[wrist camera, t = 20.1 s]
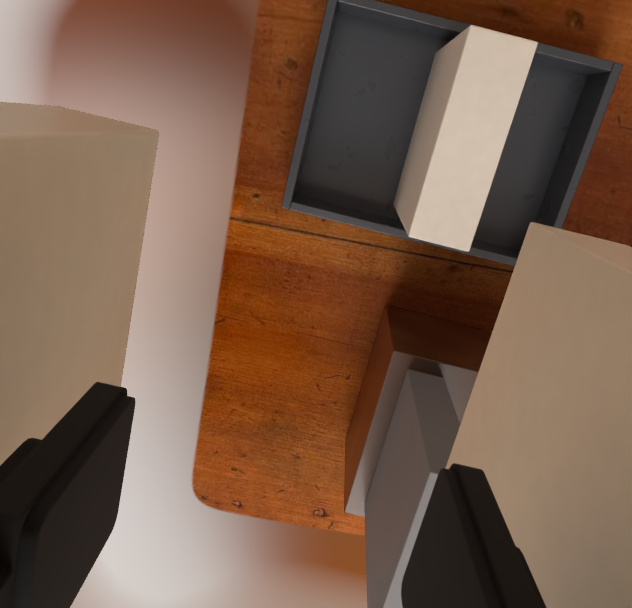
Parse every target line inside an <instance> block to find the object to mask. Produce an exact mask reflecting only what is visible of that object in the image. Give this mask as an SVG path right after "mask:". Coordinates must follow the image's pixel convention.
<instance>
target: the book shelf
mask: <svg viewBox="0 0 632 608" xmlns="http://www.w3.org/2000/svg"><path fill="white" fill-rule="evenodd" d="M491 334H492V331H488V330H484V329H480V328H476V327H472V326H468V325H464V324H460V323H456V322H452V321H448V320H444V319H440V318H436V317H432V316H428V315H424V314H420V313H416V312H412V311H408V310H404V309H400V308H396V307H392V306H388V305H385V308H384V311H383V315H382V318H381V321H380V325H379V328H378V332H377V335H376V338H375V342H374V345H373V349H372V352H371V355H370V359H369V362H368V366H367V369H366V372H365V376H364V379H363V383H362V386H361V390H360V393H359V396H358V400H357V403H356V407H355V410H354V413H353V417H352V420H351V424H350V427H349V430H348V434H347V437H346V441H345V487H344V512H345V513H349V514H353V515H357V516H361V517H365V509H364V505H365V502H366V499H367V496H368V492H369V489H370V486H371V483H372V480H373V477H374V473H375V470H376V467H377V464H378V461H379V458H380V454H381V451H382V448H383V445H384V442H385V439H386V436H387V432H388V429H389V426H390V423H391V420H392V417H393V413H394V410H395V407H396V404H397V401H398V398H399V395H400V391H401V388H402V385H403V382H404V379H405V376H406V372H407V370H408V369H410V370H414V371H418V372H422V373H426V374H430V375H434V376H438V377H442V378H444V380H445V383H446V386H447V388H448V391H449V394H450V397H451V400H452V403H453V405H454V408H455V411H456V414H457V417H458V420H459V422H460V425H461V422H462V419H463V416H464V413H465V410H466V407H467V404H468V401H469V398H470V395H471V393H472V390H473V387H474V384H475V381H476V378H477V375H478V372H479V369H480V366H481V364H482V361H483V358H484V355H485V352H486V349H487V346H488V343H489V340H490V337H491Z"/></svg>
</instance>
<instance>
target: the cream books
mask: <svg viewBox="0 0 632 608" xmlns="http://www.w3.org/2000/svg"><path fill="white" fill-rule="evenodd" d="M158 137H159V132H158V131H157V130H154V129H150V128H146V127H142V126H138V125H134V124H129V123H126V122H122V121H117V120H113V119H109V118H105V117H101V116H97V115H93V114H89V113H85V112H80V111H77V110H72V109H68V108H64V107H60V106H49V105H35V104H21V103H6V102H0V465H1V464H2V463H3V462H4V461H5V460H6V459H7V458H8V457H9V456H10V455H11V454H12V453H13V452H14V451H15V450H16V449H17V448H18V447H19V446H20V445H21V444H22V443H23V442H24V441H26V440H27V439H28V438H36V439H41V440H42V439H43V438H44V437H45V436H46V435H47V434H48V433H49V432H50V430H51V429H52V428H53V427H54V426H55V425H56V424H57V423H58V422H59V421H60V420H61V419H62V418H63V417H64V416H65V414H66V413H67V412H68V411H69V410H70V409H71V408H72V407H73V406H74V405H75V404H76V403H77V402H78V401H79V400H80V398H81V397H82V396H83V395H84V394H85V393H86V392H87V391H88V390H89V389H90V388H91V387H92V386H93V385H94V384H95V383H96V382H101V383H106V384H110V385H114V386H119V387H121V381H122V374H123V368H124V361H125V354H126V348H127V341H128V334H129V328H130V321H131V315H132V308H133V302H134V295H135V288H136V281H137V275H138V268H139V262H140V255H141V249H142V242H143V235H144V229H145V222H146V215H147V209H148V202H149V196H150V189H151V182H152V176H153V169H154V163H155V157H156V150H157V142H158ZM453 463H456V464H460V465H465V466H469V467H474V468H478V469H482V470H483V471H484V473H485V475H486V478H487V480H488V483H489V485H490V487H491V490H492V492H493V494H494V497H495V499H496V501H497V504H498V506H499V508H500V511H501V513H502V515H503V518H504V520H505V522H506V525H507V527H508V529H509V532H510V534H511V536H512V539H513V541H514V543H515V546H516V547H518V548H520V550H521V552H522V553H523V555H524V557H525V560H526V562H527V564H528V566H529V569H530V571H531V573H532V576H533V578H534V580H535V582H536V585H537V587H538V589H539V592H540V594H541V596H542V599H543V601H544V603H545V605H546V608H632V247H630V246H628V245H624V244H620V243H616V242H612V241H608V240H604V239H600V238H596V237H592V236H587V235H583V234H579V233H575V232H571V231H567V230H563V229H559V228H555V227H551V226H547V225H542V224H538V223H534V222H531V223H530V224H529V227H528V230H527V233H526V236H525V239H524V241H523V244H522V247H521V250H520V253H519V256H518V259H517V262H516V265H515V268H514V271H513V273H512V276H511V279H510V282H509V285H508V288H507V291H506V294H505V297H504V300H503V302H502V305H501V308H500V311H499V314H498V317H497V320H496V323H495V326H494V329H493V332H492V334H491V337H490V340H489V343H488V346H487V349H486V352H485V355H484V358H483V361H482V364H481V366H480V369H479V372H478V375H477V378H476V381H475V384H474V387H473V390H472V393H471V395H470V398H469V401H468V404H467V407H466V410H465V413H464V416H463V419H462V422H461V425H460V427H459V430H458V433H457V436H456V439H455V442H454V445H453V448H452V451H451V454H450V457H449V459H448V462H447V465H446V468H445V469H449V468H450V466H451V465H452V464H453Z"/></svg>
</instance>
